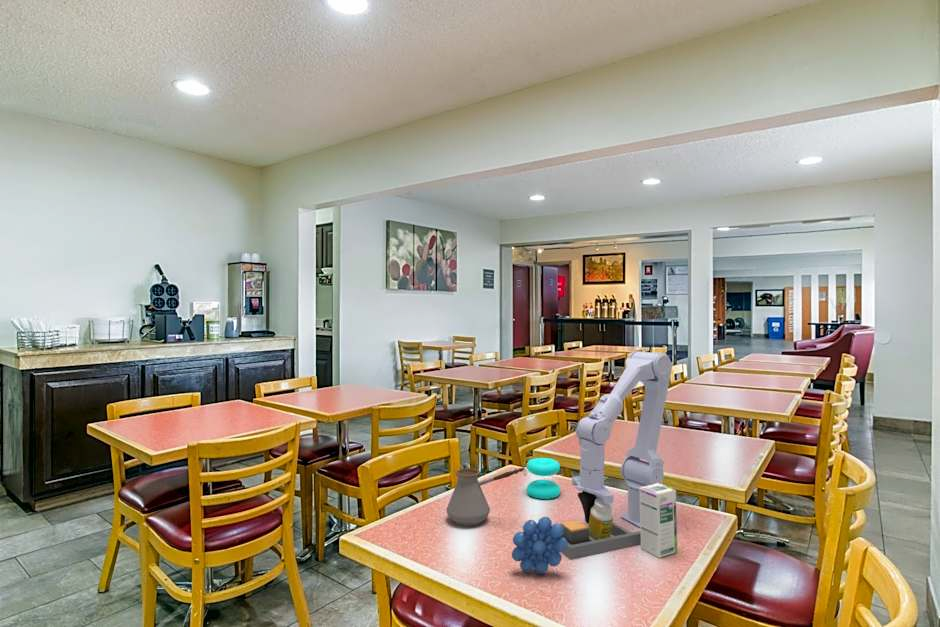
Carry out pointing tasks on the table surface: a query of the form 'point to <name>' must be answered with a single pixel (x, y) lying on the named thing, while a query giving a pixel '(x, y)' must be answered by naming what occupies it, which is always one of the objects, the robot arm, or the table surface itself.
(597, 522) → the supplement bottle
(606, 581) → the table surface
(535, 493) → the donuts
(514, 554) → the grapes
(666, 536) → the syrup box
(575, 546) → the grey tray with block
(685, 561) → the table surface
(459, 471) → the coffee pot
